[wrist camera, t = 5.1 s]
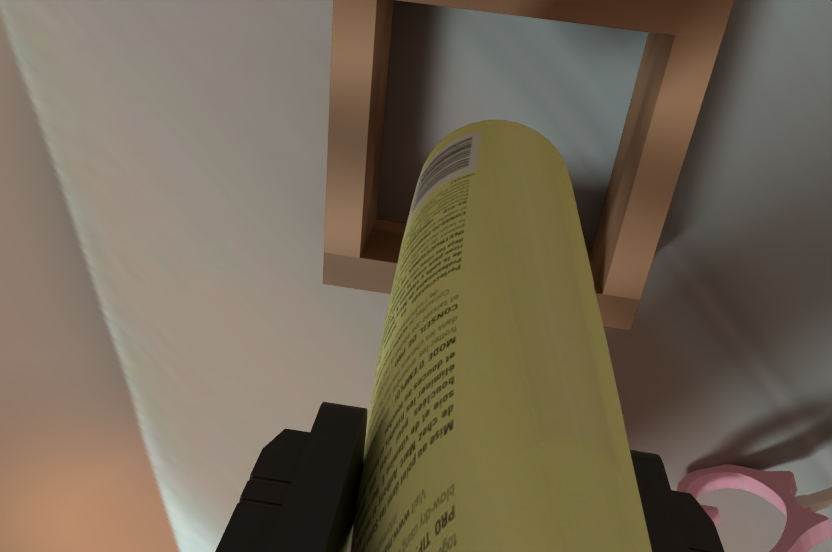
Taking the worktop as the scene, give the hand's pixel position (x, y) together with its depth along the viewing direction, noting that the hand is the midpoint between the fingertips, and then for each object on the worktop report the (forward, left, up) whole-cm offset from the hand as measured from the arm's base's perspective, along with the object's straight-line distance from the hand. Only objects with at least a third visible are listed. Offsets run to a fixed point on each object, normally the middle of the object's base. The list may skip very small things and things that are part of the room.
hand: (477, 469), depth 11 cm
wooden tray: (0, 0, -20) cm, 20 cm away
